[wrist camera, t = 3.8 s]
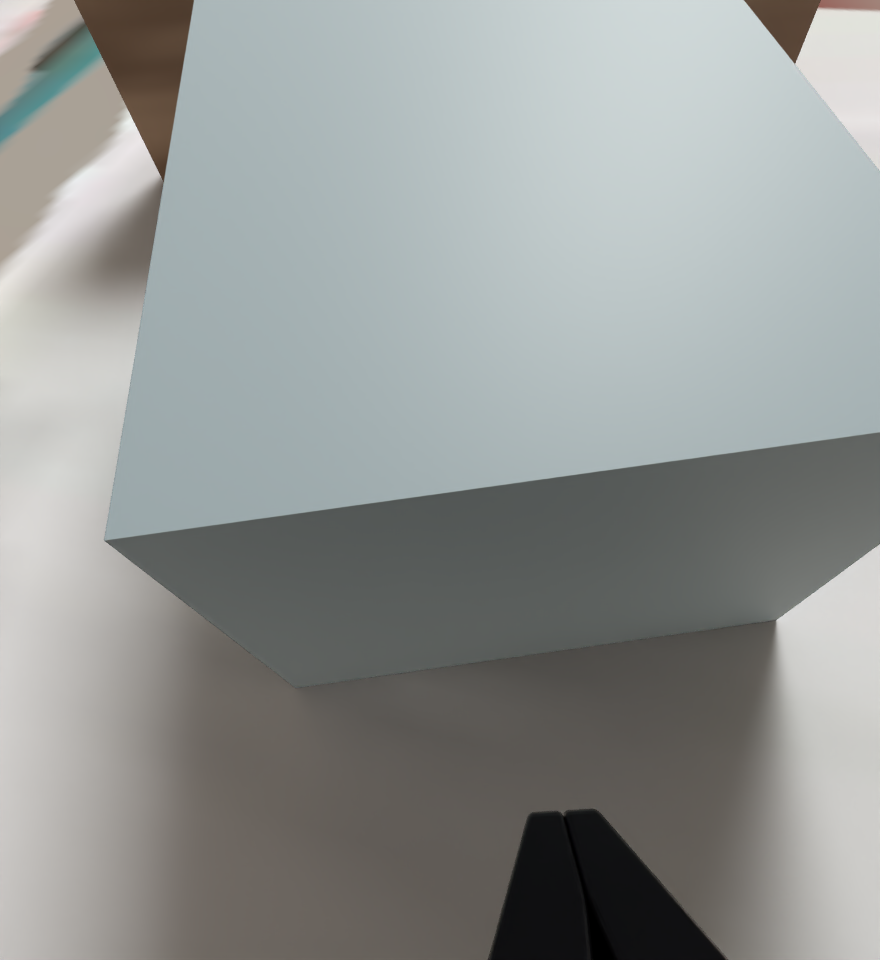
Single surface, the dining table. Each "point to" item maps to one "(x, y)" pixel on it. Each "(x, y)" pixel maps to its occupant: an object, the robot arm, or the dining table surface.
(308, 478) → the slate block
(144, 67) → the walnut board
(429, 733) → the dining table surface
